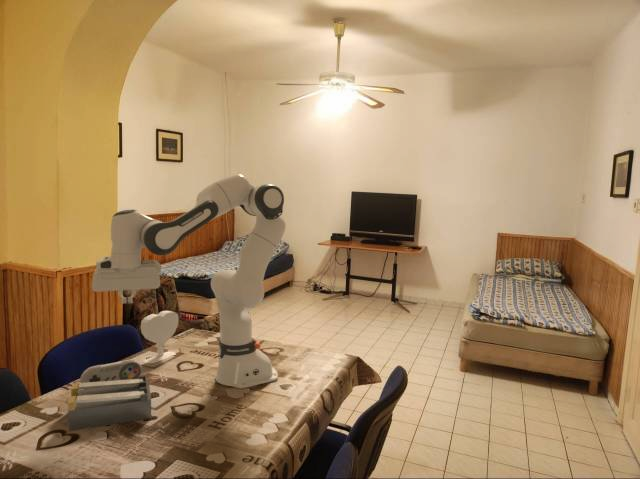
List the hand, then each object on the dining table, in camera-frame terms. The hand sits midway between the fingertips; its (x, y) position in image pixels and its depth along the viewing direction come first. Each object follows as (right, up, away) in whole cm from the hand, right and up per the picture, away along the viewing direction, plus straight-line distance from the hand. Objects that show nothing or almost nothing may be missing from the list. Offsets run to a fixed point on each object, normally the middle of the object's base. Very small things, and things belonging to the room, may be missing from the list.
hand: (127, 303), depth 153 cm
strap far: (-2, -25, -5) cm, 26 cm away
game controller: (-9, -30, +10) cm, 33 cm away
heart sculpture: (-1, -27, +36) cm, 45 cm away
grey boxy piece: (-1, -33, -9) cm, 34 cm away
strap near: (+1, -27, -14) cm, 30 cm away
